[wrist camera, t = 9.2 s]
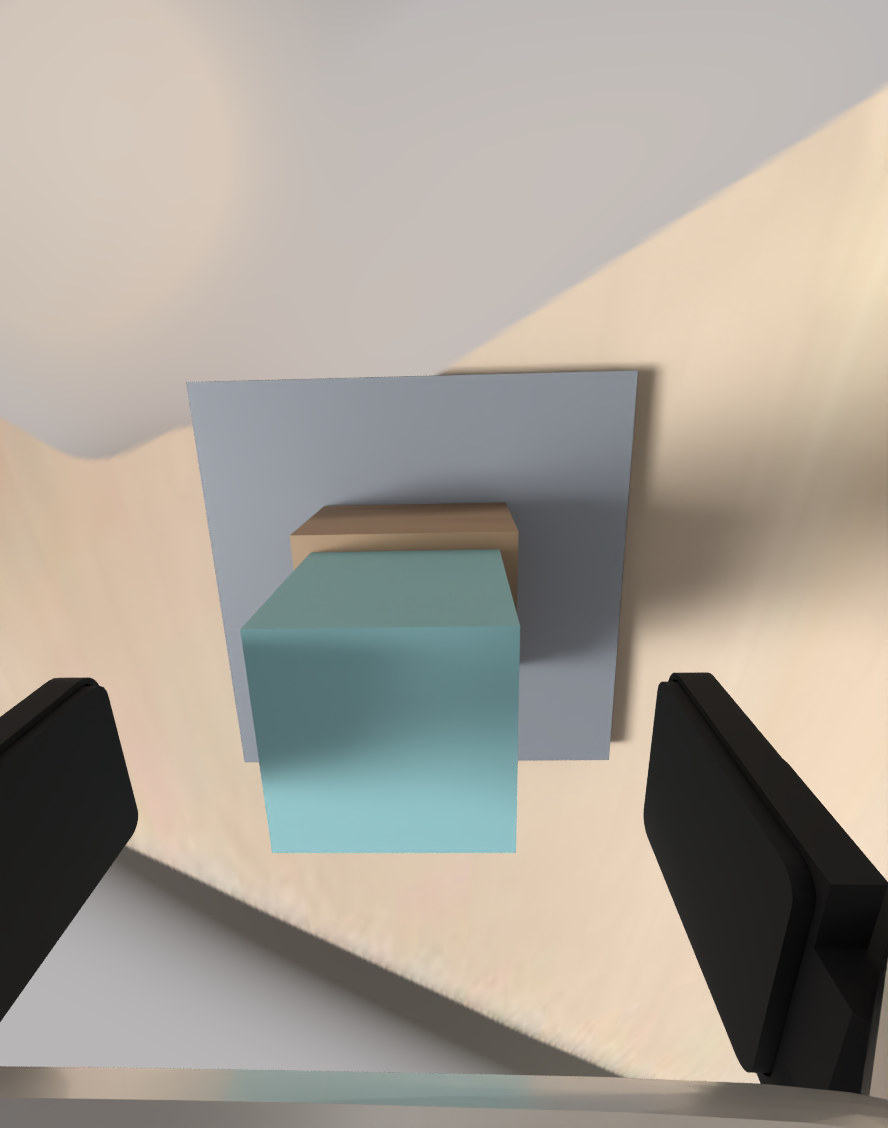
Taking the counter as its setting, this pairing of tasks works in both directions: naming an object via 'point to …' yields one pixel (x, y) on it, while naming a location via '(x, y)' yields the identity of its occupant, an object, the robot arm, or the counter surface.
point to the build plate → (433, 476)
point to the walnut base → (411, 531)
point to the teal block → (388, 703)
